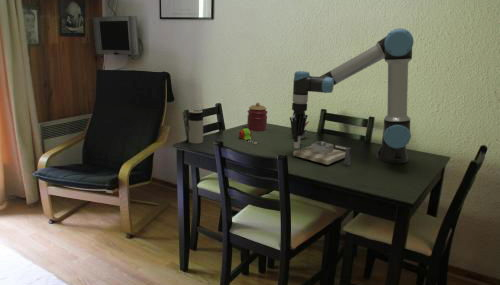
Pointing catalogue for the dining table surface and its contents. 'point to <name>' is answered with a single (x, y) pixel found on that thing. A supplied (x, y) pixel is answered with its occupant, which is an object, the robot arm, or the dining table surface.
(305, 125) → the toy figurine
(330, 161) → the patterned tray
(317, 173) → the dining table surface
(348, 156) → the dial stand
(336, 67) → the robot arm
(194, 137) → the travel mug
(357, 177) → the dining table surface
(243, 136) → the toy measuring tape
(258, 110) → the canister
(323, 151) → the cover
